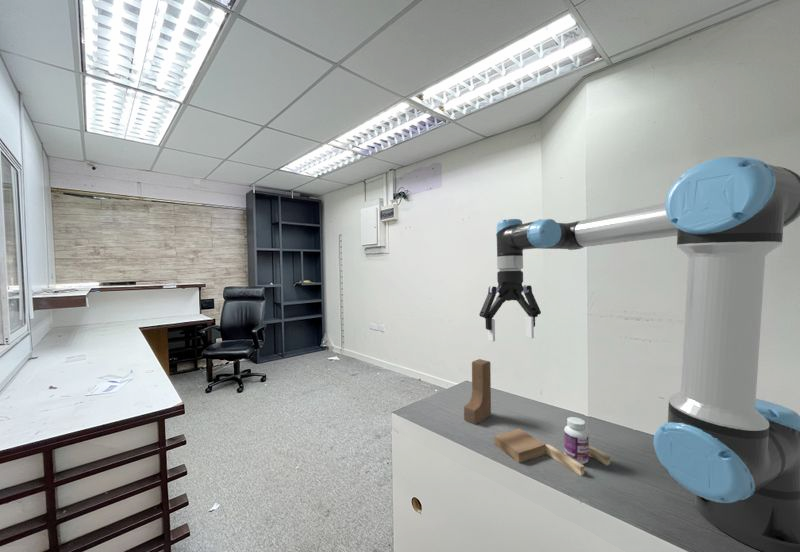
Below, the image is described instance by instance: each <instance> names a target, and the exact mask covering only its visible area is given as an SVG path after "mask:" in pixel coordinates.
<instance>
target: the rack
mask: <svg viewBox="0 0 800 552" xmlns="http://www.w3.org/2000/svg"><path fill="white" fill-rule="evenodd" d="M545 455H548V456H549V457H551V458H552V459H553V460H555V461H557V462H558V463H560V464H562V465H563V466H565V467H567V468H568V469H569V470H570V471H572V472H574V473H576V474H577V475H578V476H584V475H585V465H584V464H580V463H579V462H577V461H575V460H574V459H572V458H570V457H569V456H567V455H565V454H564V452H562V451H560V450H559V449H557V448H556V447H554V446H552V445H550V444H549V443H548V444H546V454H545ZM589 457H591V458H592V459H595V460H596V461H598V462H600V463H601V464H603V465H605V466H610V465H611V457H610V455H609V454H607V453H605V452H603V451H601V450H599V449H597V448H596V447H594V446H592V445H590V444H589Z"/></svg>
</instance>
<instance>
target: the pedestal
mask: <svg viewBox="0 0 800 552" xmlns="http://www.w3.org/2000/svg"><path fill="white" fill-rule="evenodd" d="M493 440H494V445H495V446H496V447H497V448H498V449H499V450H502V452H504V453H505V454H506V455H508V456H509V457H510V458H512V459H513V460H515V461H516V462H517V463H519V464H520V463H523V462H526V461H529V460H532V459H535V458H538V457H541V456H544V455H547V454H546V445H547V444H546V443H544V442H542V441H541V440H539V439H537V438H536V437H534V436H533V435H531V434H529V433H528V432H526V431H524V430H523V429H521V428H516V429H513V430H510V431H506V432H505V431H504V432H502V433H499V434H498V433H497V434H496V435H494V438H493Z"/></svg>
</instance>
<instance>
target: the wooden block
mask: <svg viewBox="0 0 800 552" xmlns="http://www.w3.org/2000/svg"><path fill="white" fill-rule="evenodd" d="M491 371H492V370H491V361H488V360H484V359H481V358H480V359H479V358H478V359H476V360H474V361H471V397H470V400H469V401H468V402H467V404H465V405H464V406H463V419H464V421H466V422H469V423H471V424H472V425H473V424H474V425H477V424H478V423H480V422H482V421H483V420H486V419H487V418H489V417H491V415H492V401H491V400H492V396H491V395H492V394H491V393H492V390H491V389H492V388H491V386H492V384H491V379H492V378H491V373H492V372H491Z"/></svg>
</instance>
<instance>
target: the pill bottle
mask: <svg viewBox="0 0 800 552" xmlns="http://www.w3.org/2000/svg"><path fill="white" fill-rule="evenodd" d="M566 423H567V425H566V426H565V427H564V429H563V439H564V440H563V441H564V442H563V444H564V445H563V447H564V448H563V450H564V451H563V453H564V454H565V455H567V456H569V457H570V458H572V459H574V460H575V461H577V462H579V463H580V464H582V465H584V464H587V463H588V462H589V458H590V456H589V445H590V443H589V439H590V437H589V432H588V430H587V429H586V421H585V420H584V419H582V418H580V417H575V416H570V417H567V419H566Z"/></svg>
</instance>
